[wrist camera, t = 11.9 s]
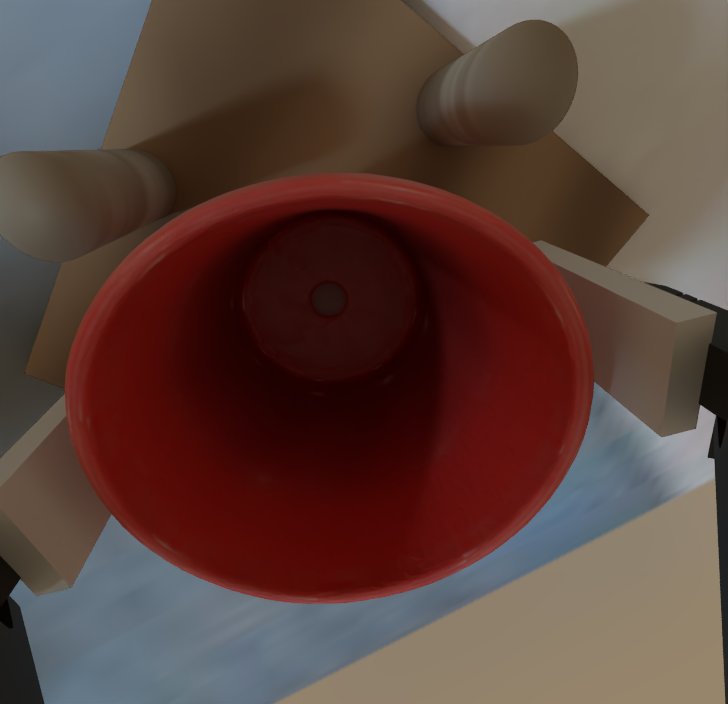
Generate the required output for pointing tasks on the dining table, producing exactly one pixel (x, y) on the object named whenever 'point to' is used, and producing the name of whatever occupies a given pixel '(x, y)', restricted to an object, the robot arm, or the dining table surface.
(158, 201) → the plant stand
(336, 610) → the dining table surface
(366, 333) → the flower pot
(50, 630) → the dining table surface
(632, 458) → the dining table surface
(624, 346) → the robot arm
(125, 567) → the dining table surface
